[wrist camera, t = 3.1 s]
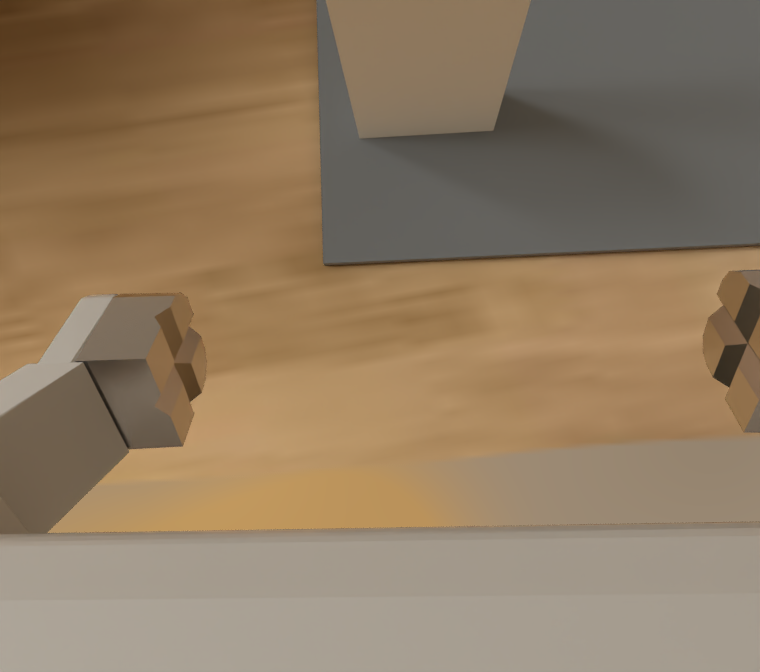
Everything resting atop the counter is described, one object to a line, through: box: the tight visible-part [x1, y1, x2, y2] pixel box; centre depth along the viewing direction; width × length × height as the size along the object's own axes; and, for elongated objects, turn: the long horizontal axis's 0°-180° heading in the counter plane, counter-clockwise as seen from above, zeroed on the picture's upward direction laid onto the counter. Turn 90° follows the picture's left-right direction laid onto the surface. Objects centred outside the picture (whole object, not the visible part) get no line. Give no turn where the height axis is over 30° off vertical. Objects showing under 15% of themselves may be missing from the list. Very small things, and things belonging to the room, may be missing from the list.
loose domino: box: [326, 0, 531, 139], centre depth 18 cm, size 5×2×10 cm, turn 92°
